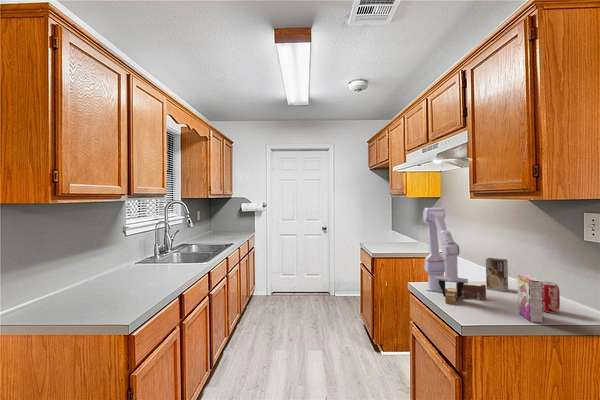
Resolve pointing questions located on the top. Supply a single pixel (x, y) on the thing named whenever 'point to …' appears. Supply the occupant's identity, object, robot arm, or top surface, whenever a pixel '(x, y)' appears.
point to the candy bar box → (530, 298)
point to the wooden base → (472, 291)
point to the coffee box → (497, 274)
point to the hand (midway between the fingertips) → (451, 297)
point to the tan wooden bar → (451, 296)
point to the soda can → (550, 297)
